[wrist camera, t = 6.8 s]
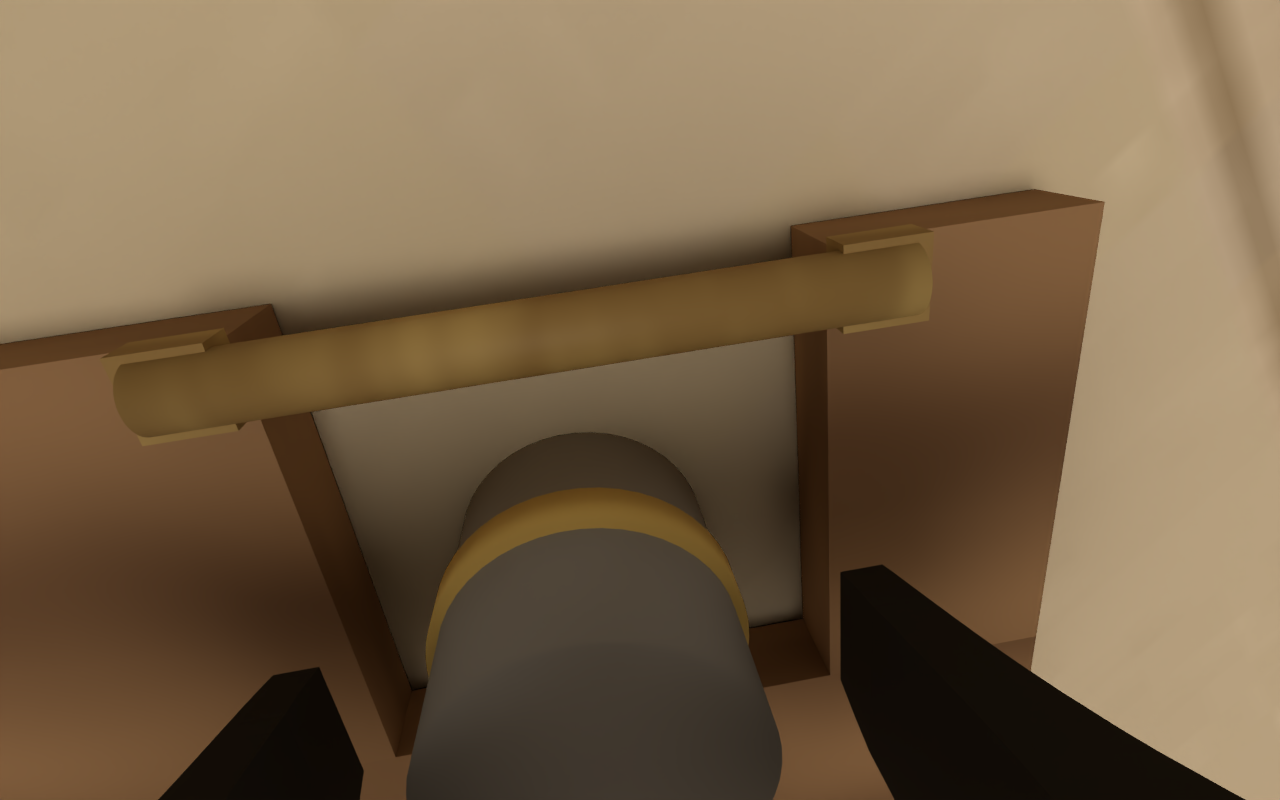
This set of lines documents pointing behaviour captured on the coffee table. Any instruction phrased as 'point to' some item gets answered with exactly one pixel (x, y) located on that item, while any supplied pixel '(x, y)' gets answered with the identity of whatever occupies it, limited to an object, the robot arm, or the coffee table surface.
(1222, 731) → the coffee table surface
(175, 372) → the shelf board
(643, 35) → the coffee table surface
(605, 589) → the gold-banded grey cylinder
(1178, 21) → the coffee table surface
